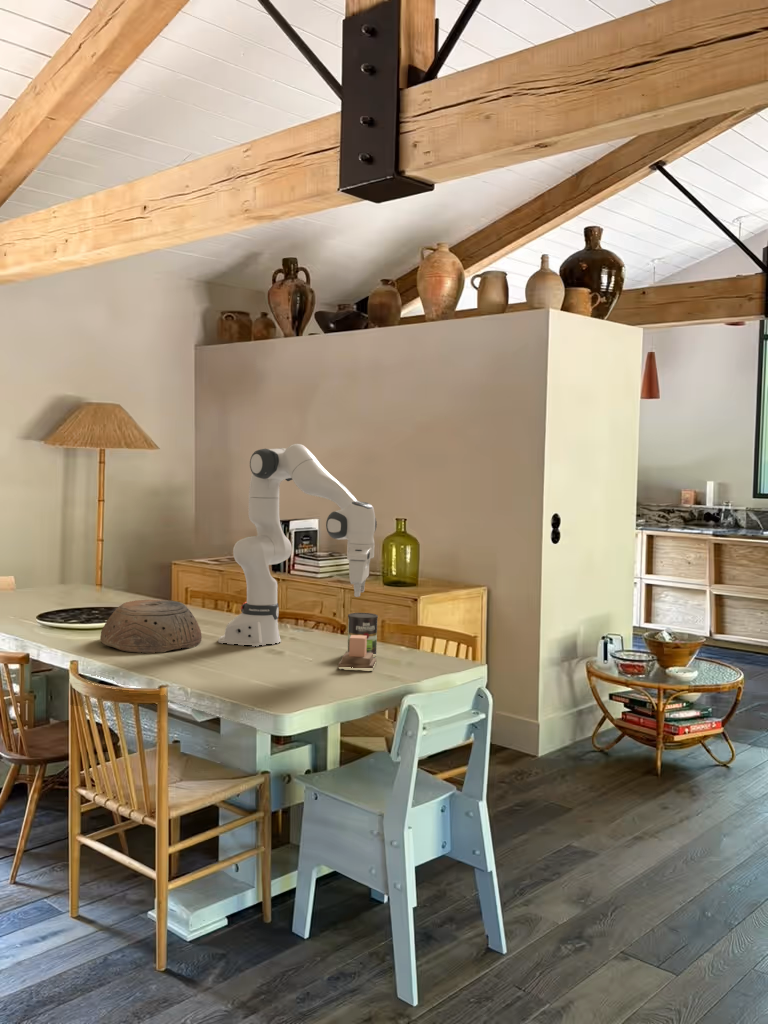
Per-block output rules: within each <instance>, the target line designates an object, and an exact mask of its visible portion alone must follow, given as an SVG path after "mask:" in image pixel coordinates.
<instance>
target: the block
mask: <svg viewBox="0 0 768 1024" xmlns="http://www.w3.org/2000/svg"><path fill="white" fill-rule="evenodd" d="M366 651H367V636H364V635H351V637H350V641H349V656H356V657H365V655H366Z"/></svg>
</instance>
